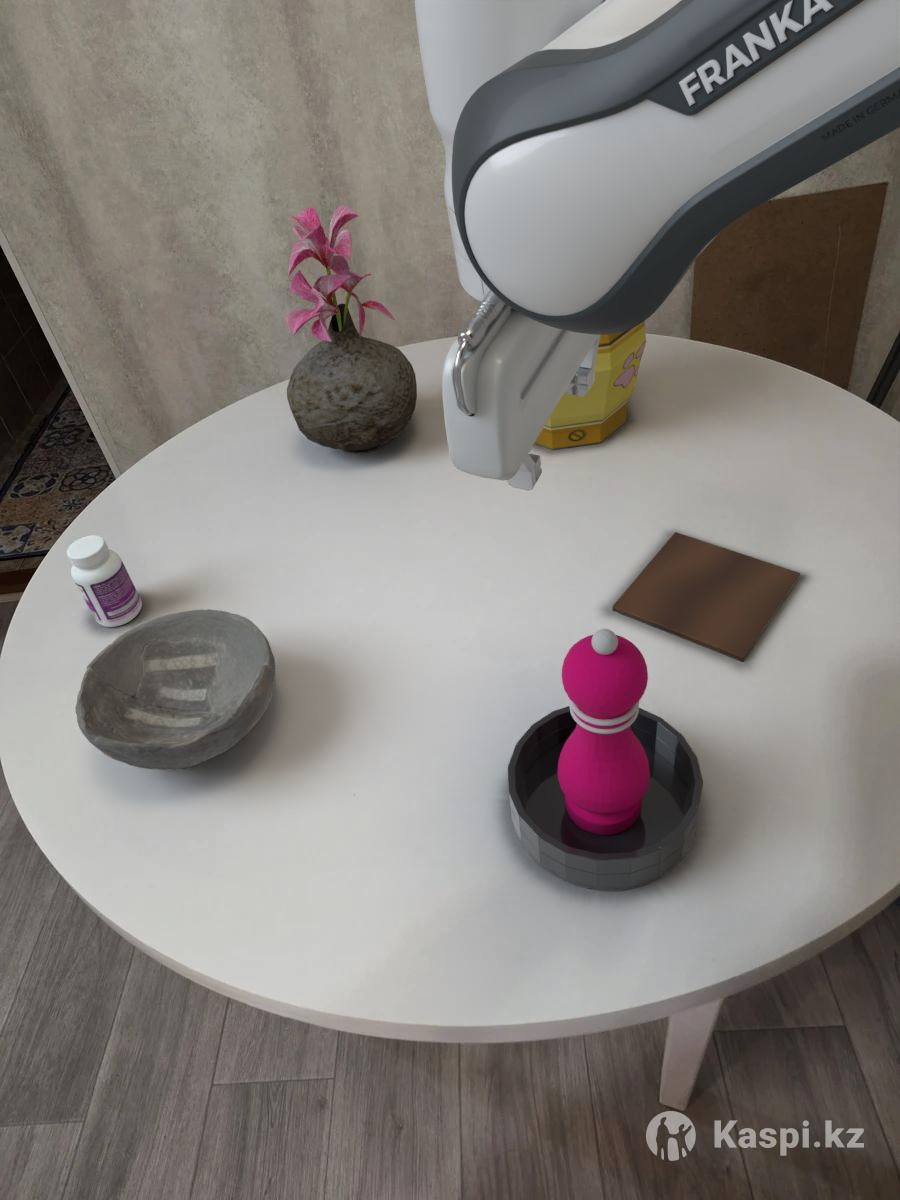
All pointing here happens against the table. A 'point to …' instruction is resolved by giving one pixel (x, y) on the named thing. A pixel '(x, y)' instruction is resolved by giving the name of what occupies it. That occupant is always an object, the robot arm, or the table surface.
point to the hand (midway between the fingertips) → (553, 433)
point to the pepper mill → (604, 734)
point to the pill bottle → (103, 581)
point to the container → (598, 395)
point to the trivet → (708, 595)
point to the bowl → (177, 689)
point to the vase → (343, 352)
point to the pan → (614, 856)
